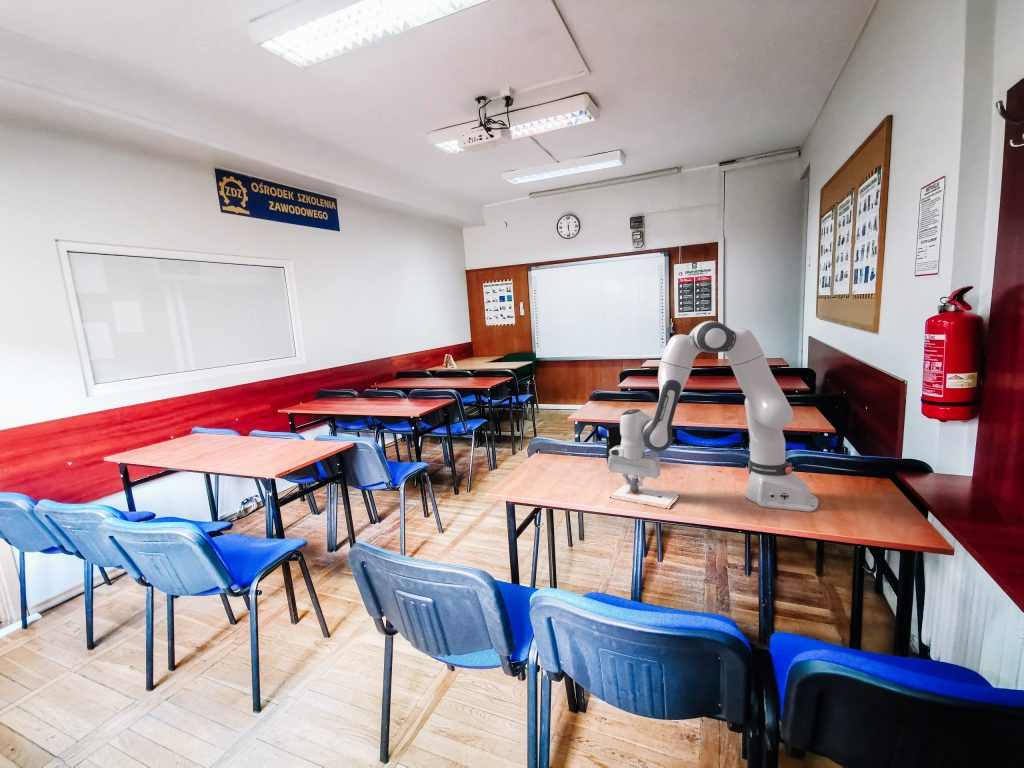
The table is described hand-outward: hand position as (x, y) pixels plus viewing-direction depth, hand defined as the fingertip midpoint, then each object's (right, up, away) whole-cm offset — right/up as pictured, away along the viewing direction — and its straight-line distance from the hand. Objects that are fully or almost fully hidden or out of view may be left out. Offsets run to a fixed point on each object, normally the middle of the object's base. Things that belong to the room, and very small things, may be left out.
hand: (634, 485), depth 173 cm
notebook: (+4, -4, -2) cm, 6 cm away
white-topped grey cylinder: (0, -2, 0) cm, 2 cm away
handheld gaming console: (+3, +1, +35) cm, 35 cm away
